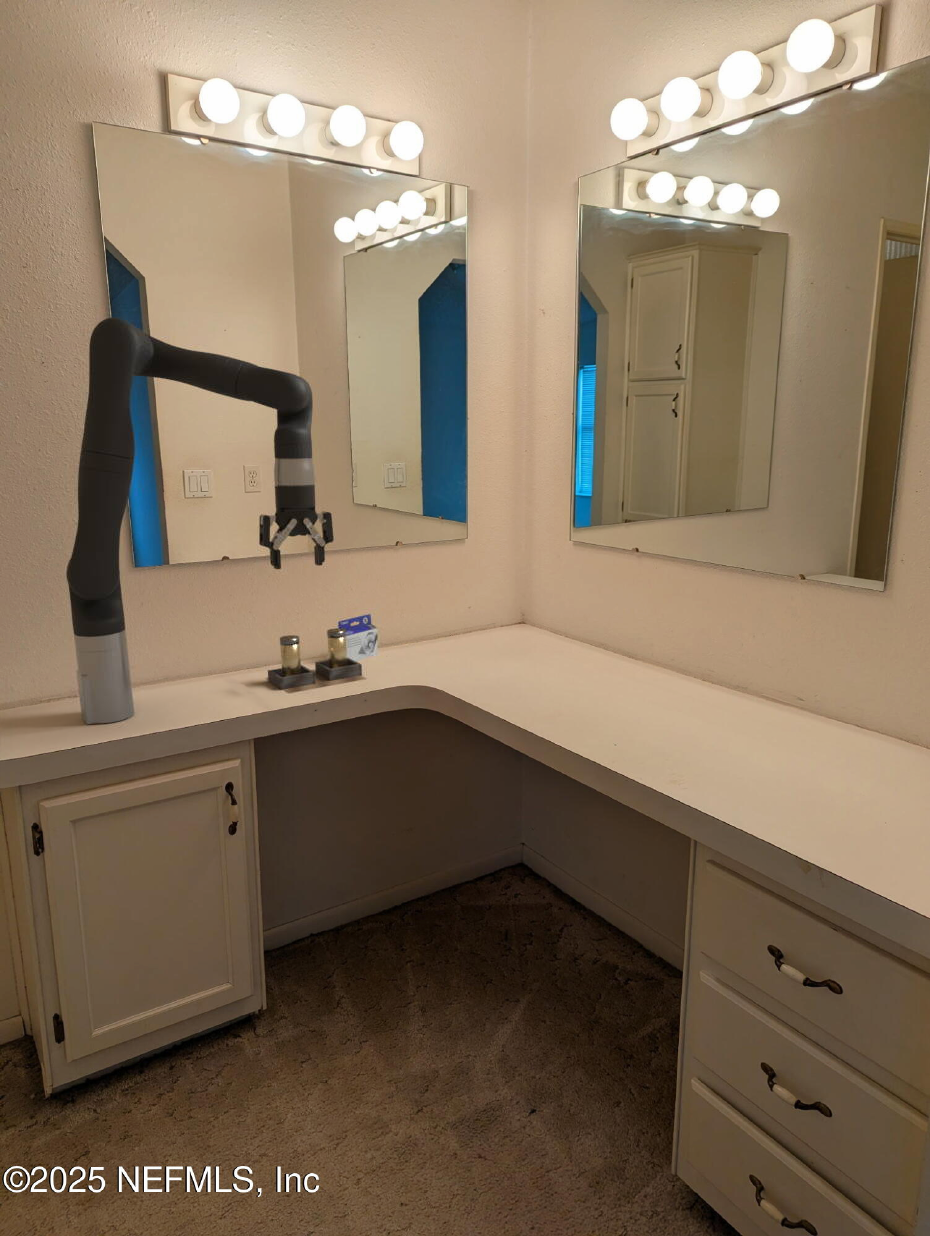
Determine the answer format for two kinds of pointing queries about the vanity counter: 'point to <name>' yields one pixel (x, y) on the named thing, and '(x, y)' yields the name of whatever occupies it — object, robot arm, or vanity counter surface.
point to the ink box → (360, 637)
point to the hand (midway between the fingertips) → (298, 566)
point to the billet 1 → (290, 655)
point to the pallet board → (316, 676)
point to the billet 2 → (337, 647)
